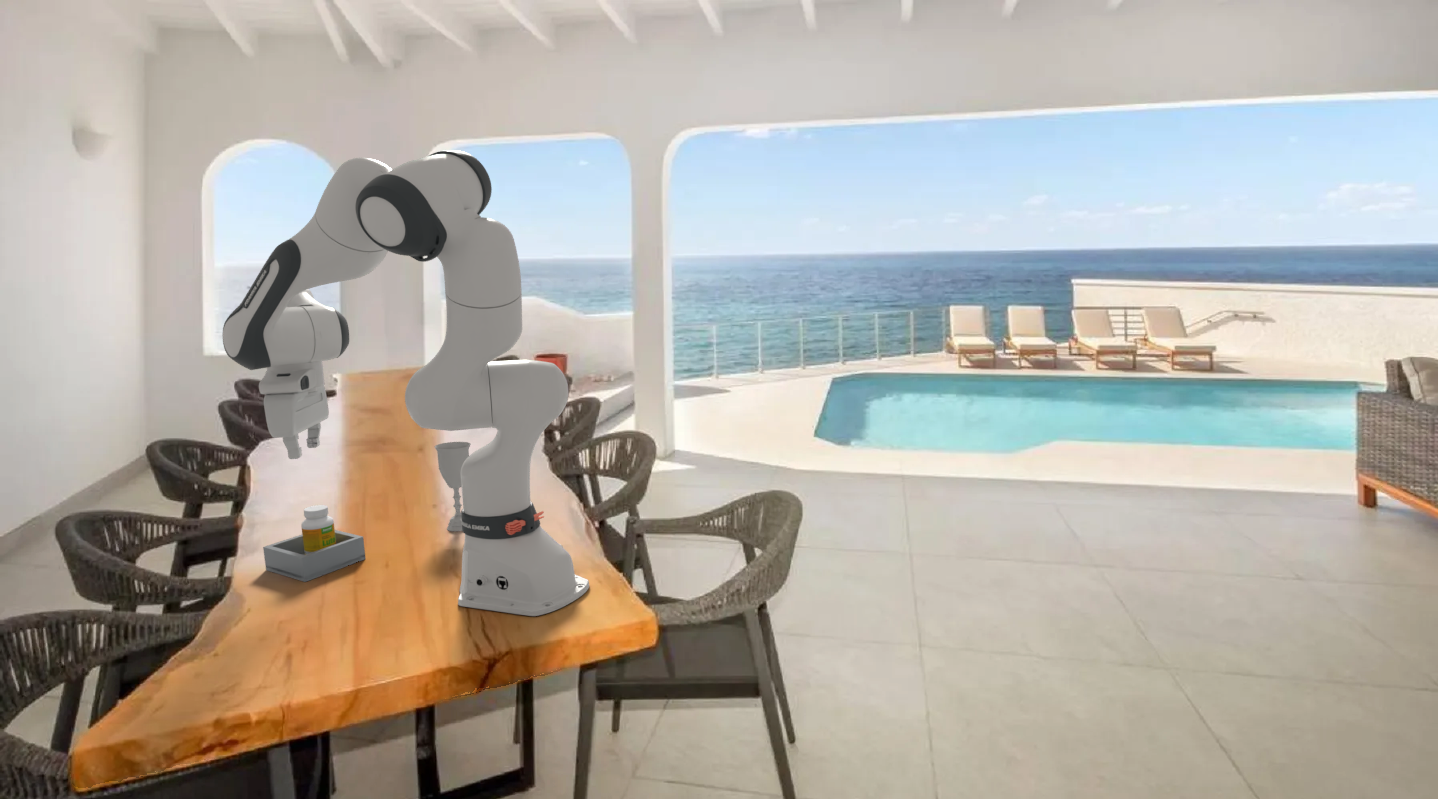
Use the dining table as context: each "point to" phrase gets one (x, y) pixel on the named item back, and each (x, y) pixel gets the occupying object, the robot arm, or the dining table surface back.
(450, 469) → the chalice
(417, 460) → the dining table surface
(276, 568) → the tray
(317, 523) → the supplement bottle
